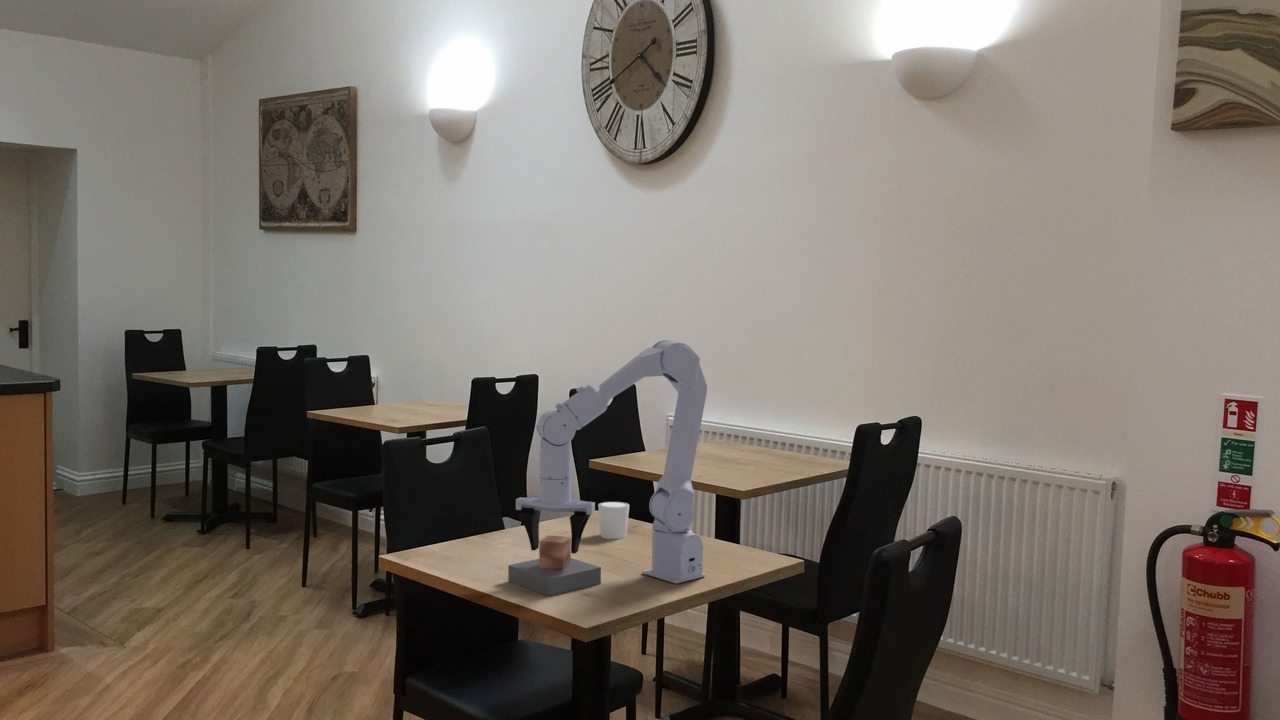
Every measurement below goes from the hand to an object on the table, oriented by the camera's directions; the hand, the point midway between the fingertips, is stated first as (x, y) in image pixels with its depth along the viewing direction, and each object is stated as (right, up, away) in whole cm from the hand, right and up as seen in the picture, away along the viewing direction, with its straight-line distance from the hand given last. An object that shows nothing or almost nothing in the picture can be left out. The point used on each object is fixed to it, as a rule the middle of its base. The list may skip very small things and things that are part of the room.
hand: (554, 550), depth 188 cm
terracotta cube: (0, -3, 0) cm, 3 cm away
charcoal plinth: (0, -6, 0) cm, 6 cm away
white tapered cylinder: (+10, -4, +37) cm, 38 cm away
